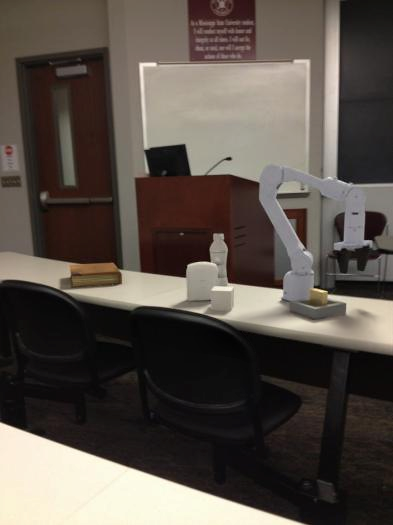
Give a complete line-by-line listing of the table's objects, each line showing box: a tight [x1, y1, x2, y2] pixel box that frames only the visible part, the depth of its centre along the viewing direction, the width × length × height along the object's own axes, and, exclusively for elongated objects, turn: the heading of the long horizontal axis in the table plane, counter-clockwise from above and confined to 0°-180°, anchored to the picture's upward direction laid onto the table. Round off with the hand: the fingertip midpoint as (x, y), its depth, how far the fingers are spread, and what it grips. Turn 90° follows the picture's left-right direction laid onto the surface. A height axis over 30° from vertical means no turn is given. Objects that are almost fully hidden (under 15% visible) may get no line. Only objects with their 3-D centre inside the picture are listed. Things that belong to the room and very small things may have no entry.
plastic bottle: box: [209, 233, 229, 287], centre depth 155 cm, size 6×7×20 cm
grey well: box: [289, 298, 347, 321], centre depth 126 cm, size 10×12×3 cm
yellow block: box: [309, 288, 329, 307], centre depth 126 cm, size 4×5×6 cm
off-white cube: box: [210, 286, 235, 312], centre depth 132 cm, size 6×6×6 cm
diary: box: [69, 262, 123, 289], centre depth 177 cm, size 23×19×6 cm
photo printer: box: [185, 261, 218, 302], centre depth 142 cm, size 10×4×12 cm, turn 96°
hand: (352, 272), depth 134 cm, fingers open, 7 cm apart
